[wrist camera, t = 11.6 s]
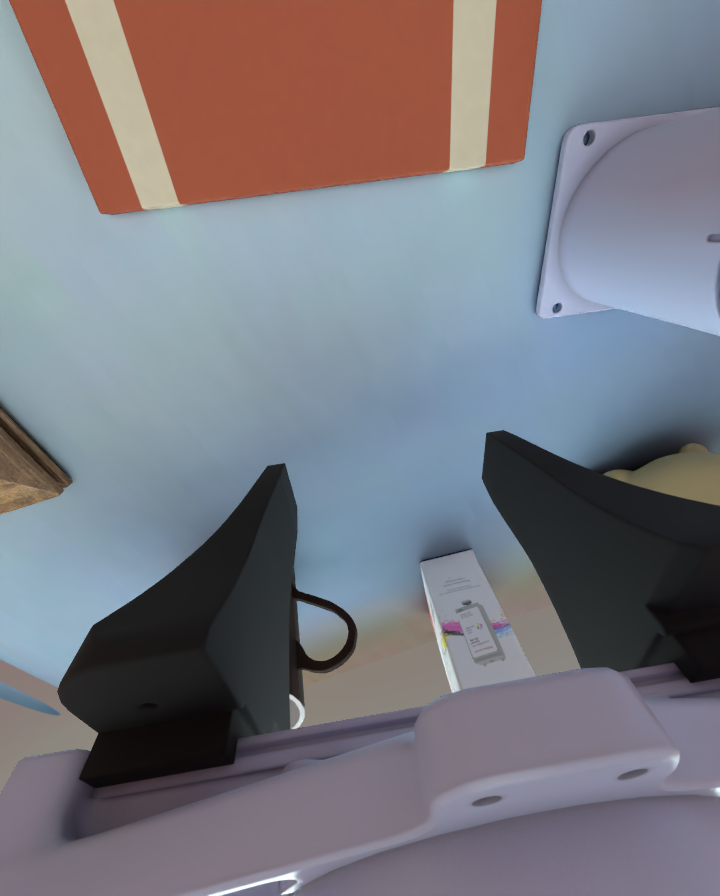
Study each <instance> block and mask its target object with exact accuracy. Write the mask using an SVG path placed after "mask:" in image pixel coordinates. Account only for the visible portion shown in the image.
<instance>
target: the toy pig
mask: <svg viewBox="0 0 720 896" xmlns="http://www.w3.org/2000/svg"><path fill="white" fill-rule="evenodd" d="M603 475H606V476H608V477H611V478H614V479H617V480H620V481H623V482H626V483H629V484H633V485H636V486H639V487H643V488H646V489H650V490H654V491H657V492H661V493H665V494H669V495H673V496H677V497H681V498H686V499H690V500H695V501H700V502H704V503H709V504H714V505H719V506H720V453H714V452H709V451H708V450H707V449H706V448H705V447H704V446H702V445H700V444H696V443H691V444H687V445H685V446H683V447H682V448H681V450H680V452H679V453H677V454H672V455H668V456H664V457H661V458H659V459H656V460H654V461H652V462H650V463H648V464H646V465H644V466H643V467H641V468H639V469H638V470H636V471H628V470H612V471H608V472H606V473H604V474H603Z"/></svg>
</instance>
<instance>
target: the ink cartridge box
mask: <svg viewBox="0 0 720 896" xmlns="http://www.w3.org/2000/svg"><path fill="white" fill-rule="evenodd" d="M420 568H421V573H422V578H423V583H424V589H425V593H426V598H427V603H428V608H429V612H430V618H431V622H432V625H433V628H434V632H435V635H436V639H437V642H438V646H439V649H440V653H441V656H442V660H443V663H444V667H445V670H446V674H447V677H448V680H449V684H450V687H451V691H452V693H453V692H457V691H460V690H463V689H467V688H473V687H479V686H484V685H490V684H496V683H502V682H507V681H513V680H519V679H525V678H530V677H536V676H535V674H534V672H533V670H532V668H531V666H530V664H529V662H528V660H527V658H526V656H525V654H524V652H523V650H522V648H521V646H520V644H519V642H518V640H517V638H516V636H515V634H514V632H513V630H512V628H511V626H510V624H509V622H508V620H507V618H506V616H505V614H504V613H503V611H502V609H501V607H500V604H499V602H498V600H497V598H496V596H495V594H494V592H493V590H492V588H491V586H490V584H489V582H488V580H487V578H486V577H485V575H484V573H483V571H482V569H481V567H480V565H479V563H478V561H477V559H476V556H475V554H474V552H473V550H468V551H464V552H460V553H456V554H452V555H448V556H443V557H439V558H435V559H431V560H427V561H423V562H421V563H420Z"/></svg>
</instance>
